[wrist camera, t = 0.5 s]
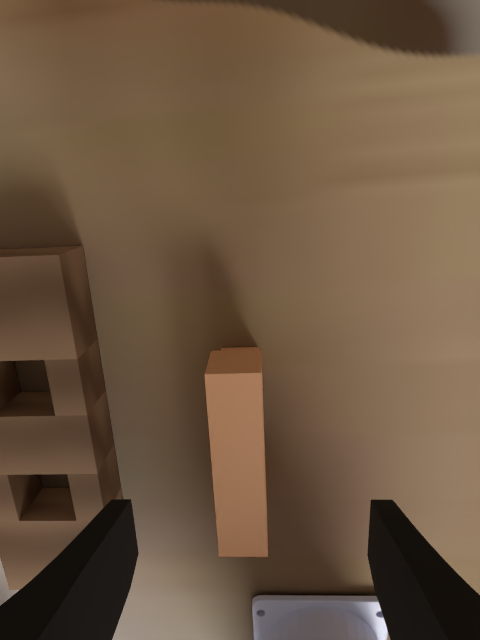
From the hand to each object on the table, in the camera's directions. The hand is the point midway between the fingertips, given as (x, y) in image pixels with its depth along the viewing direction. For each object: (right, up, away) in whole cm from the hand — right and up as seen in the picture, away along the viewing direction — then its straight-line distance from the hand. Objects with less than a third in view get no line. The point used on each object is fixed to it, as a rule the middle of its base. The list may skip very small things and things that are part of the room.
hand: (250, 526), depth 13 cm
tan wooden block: (0, +1, +9) cm, 10 cm away
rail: (-10, +1, +10) cm, 14 cm away
